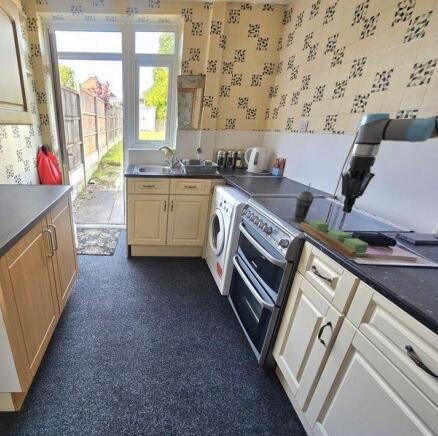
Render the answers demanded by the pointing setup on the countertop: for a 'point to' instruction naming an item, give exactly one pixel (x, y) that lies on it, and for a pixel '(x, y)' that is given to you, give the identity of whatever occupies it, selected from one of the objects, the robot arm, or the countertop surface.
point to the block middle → (338, 235)
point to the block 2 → (357, 245)
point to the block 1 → (319, 225)
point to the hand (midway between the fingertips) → (346, 211)
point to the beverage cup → (303, 205)
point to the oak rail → (329, 240)
